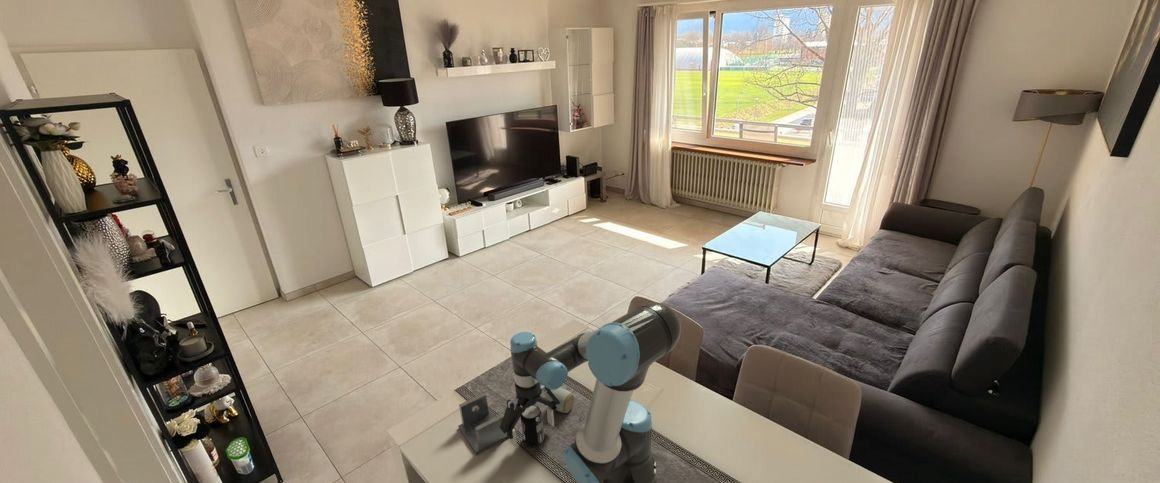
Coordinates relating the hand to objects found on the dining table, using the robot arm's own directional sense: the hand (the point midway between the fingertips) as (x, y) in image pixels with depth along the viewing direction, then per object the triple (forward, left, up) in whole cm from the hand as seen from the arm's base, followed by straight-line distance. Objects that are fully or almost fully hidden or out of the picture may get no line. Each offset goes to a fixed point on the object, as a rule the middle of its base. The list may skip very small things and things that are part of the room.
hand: (532, 433), depth 151 cm
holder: (+13, +11, -3) cm, 17 cm away
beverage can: (0, 0, -3) cm, 3 cm away
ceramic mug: (+7, -16, -3) cm, 18 cm away
